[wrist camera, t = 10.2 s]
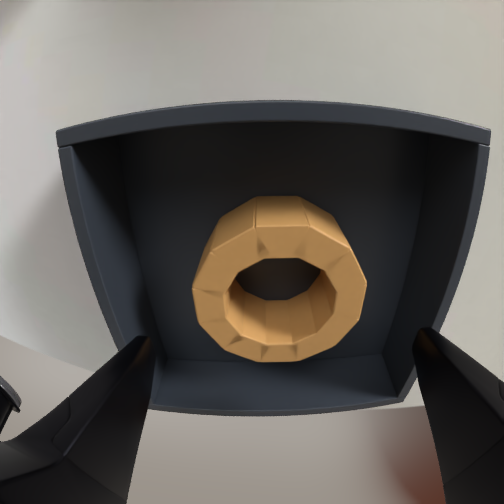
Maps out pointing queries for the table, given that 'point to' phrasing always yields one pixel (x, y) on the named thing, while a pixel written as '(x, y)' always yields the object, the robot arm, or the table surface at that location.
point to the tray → (275, 269)
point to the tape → (278, 311)
